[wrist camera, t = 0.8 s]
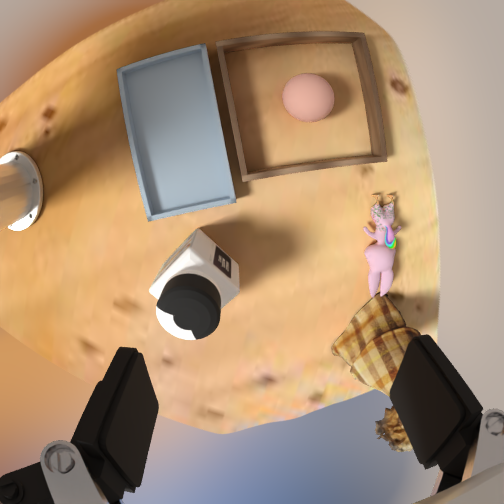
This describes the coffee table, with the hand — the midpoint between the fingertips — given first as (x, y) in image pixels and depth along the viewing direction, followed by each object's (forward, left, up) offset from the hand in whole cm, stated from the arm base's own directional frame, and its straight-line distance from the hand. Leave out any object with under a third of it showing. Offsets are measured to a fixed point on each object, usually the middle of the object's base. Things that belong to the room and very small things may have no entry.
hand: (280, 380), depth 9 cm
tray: (-7, +11, -30) cm, 32 cm away
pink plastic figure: (+17, -9, -30) cm, 36 cm away
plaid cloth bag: (+17, -25, -30) cm, 43 cm away
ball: (+9, +12, -30) cm, 33 cm away
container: (-8, -7, -30) cm, 32 cm away
